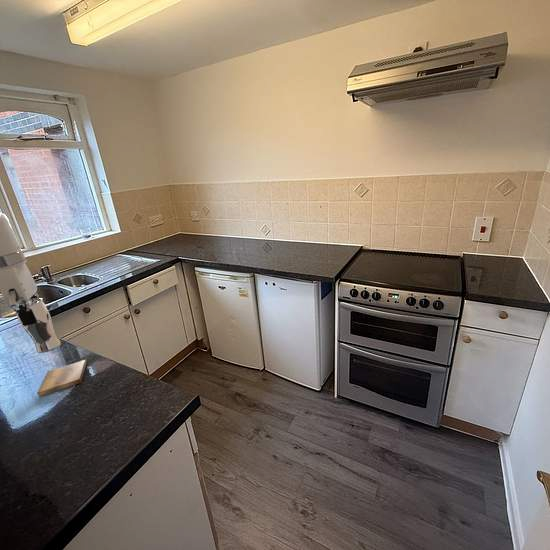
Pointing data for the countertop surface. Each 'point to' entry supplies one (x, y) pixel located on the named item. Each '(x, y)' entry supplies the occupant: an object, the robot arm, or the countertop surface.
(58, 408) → the countertop surface
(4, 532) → the countertop surface
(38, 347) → the beer glass
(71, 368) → the board
